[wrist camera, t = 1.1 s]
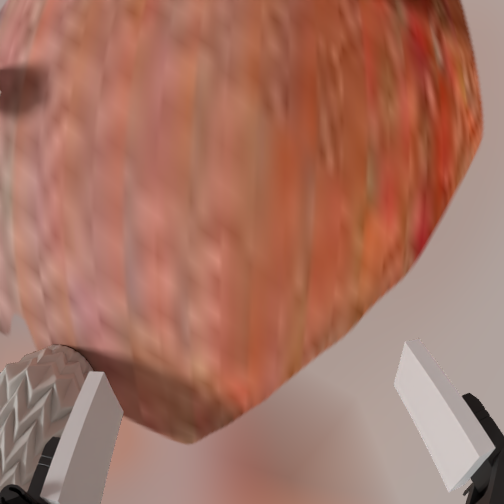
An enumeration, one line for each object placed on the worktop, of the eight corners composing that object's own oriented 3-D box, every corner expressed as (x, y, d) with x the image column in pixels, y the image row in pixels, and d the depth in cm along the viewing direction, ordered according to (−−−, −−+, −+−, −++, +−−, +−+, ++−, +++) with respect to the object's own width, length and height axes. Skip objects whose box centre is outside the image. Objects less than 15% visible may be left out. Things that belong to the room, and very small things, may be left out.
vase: (28, 380, 41) (-44, 528, 11) (22, 306, 36) (-101, 479, 6) (113, 416, 45) (73, 589, 14) (125, 348, 39) (55, 581, 9)
